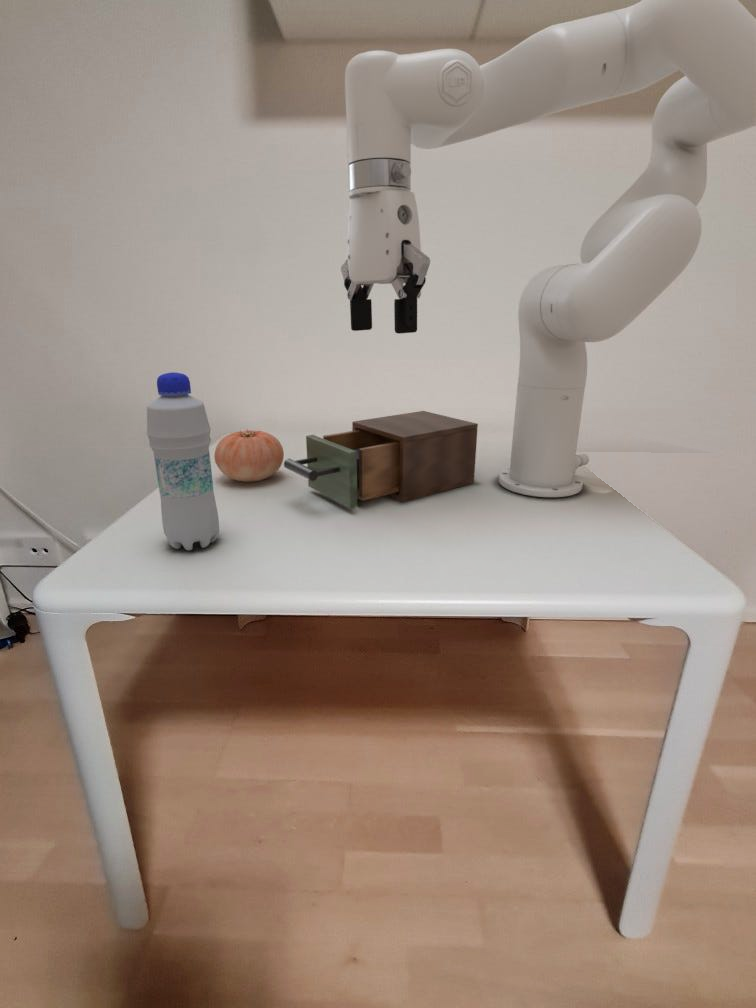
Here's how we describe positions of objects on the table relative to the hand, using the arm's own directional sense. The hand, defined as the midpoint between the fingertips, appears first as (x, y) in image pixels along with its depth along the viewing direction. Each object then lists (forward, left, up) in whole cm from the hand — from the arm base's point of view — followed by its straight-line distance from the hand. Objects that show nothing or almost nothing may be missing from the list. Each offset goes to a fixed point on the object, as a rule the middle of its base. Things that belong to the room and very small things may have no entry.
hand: (382, 331), depth 72 cm
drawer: (+3, -3, -22) cm, 23 cm away
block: (+3, -3, -21) cm, 22 cm away
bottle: (+28, -1, -24) cm, 36 cm away
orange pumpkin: (+12, -20, -24) cm, 33 cm away
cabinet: (-8, -3, -23) cm, 25 cm away
